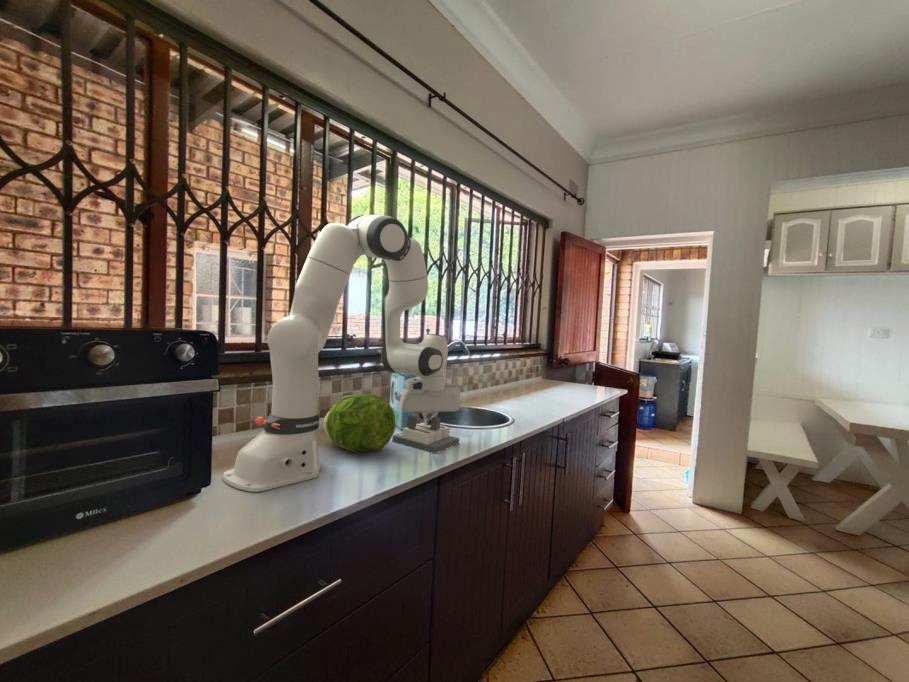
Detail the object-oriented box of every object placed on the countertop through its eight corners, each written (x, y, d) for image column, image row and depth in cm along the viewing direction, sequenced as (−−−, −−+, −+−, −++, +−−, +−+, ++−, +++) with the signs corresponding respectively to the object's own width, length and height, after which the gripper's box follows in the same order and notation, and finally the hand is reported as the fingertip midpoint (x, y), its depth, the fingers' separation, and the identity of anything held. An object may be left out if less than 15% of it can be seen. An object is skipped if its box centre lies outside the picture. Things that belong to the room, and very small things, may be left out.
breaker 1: (411, 428, 130) (412, 417, 130) (406, 427, 131) (407, 416, 131) (416, 427, 132) (417, 416, 132) (411, 426, 133) (412, 415, 133)
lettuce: (351, 436, 136) (341, 387, 134) (408, 439, 125) (399, 386, 122) (312, 459, 121) (300, 404, 118) (373, 465, 110) (361, 405, 107)
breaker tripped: (435, 430, 130) (436, 419, 130) (430, 428, 132) (431, 417, 131) (439, 428, 133) (440, 417, 132) (434, 427, 134) (435, 416, 133)
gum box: (413, 430, 148) (417, 368, 147) (399, 430, 146) (404, 367, 145) (399, 417, 166) (404, 361, 165) (387, 417, 164) (391, 361, 163)
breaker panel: (435, 453, 124) (436, 437, 123) (392, 441, 132) (393, 426, 132) (458, 444, 136) (459, 429, 135) (417, 433, 144) (418, 419, 144)
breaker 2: (427, 423, 138) (428, 413, 137) (423, 422, 139) (423, 412, 138) (431, 422, 140) (432, 412, 139) (427, 421, 141) (427, 411, 140)
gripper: (457, 382, 140) (454, 421, 140) (399, 381, 132) (396, 422, 133) (464, 385, 134) (461, 426, 135) (404, 384, 126) (401, 428, 127)
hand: (428, 424), depth 134 cm, fingers closed
